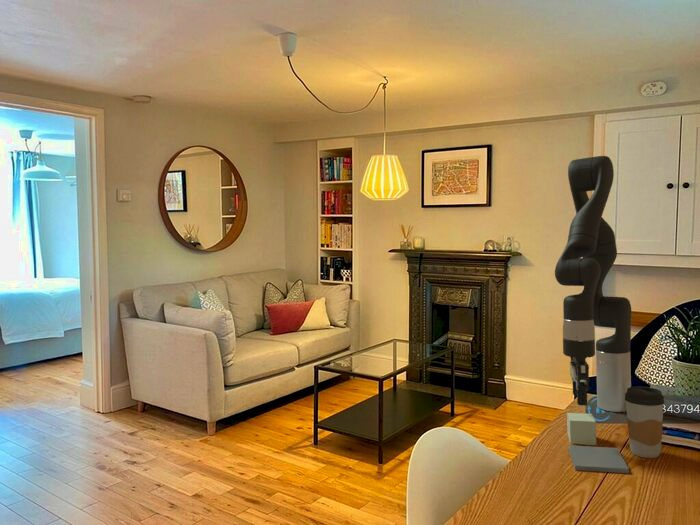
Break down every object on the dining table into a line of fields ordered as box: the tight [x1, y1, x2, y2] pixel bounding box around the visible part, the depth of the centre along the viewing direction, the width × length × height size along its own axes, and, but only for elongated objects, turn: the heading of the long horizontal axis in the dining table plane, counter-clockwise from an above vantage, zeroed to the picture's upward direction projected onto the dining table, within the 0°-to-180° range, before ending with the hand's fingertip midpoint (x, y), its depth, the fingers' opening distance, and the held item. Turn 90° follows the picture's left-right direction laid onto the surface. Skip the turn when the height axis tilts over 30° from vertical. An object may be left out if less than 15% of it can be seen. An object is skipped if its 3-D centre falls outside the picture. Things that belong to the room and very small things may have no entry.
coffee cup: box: [625, 386, 665, 459], centre depth 130 cm, size 8×8×15 cm
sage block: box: [566, 412, 597, 446], centre depth 140 cm, size 6×6×6 cm
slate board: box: [568, 445, 630, 474], centre depth 127 cm, size 12×11×1 cm
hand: (579, 400), depth 140 cm, fingers open, 8 cm apart
